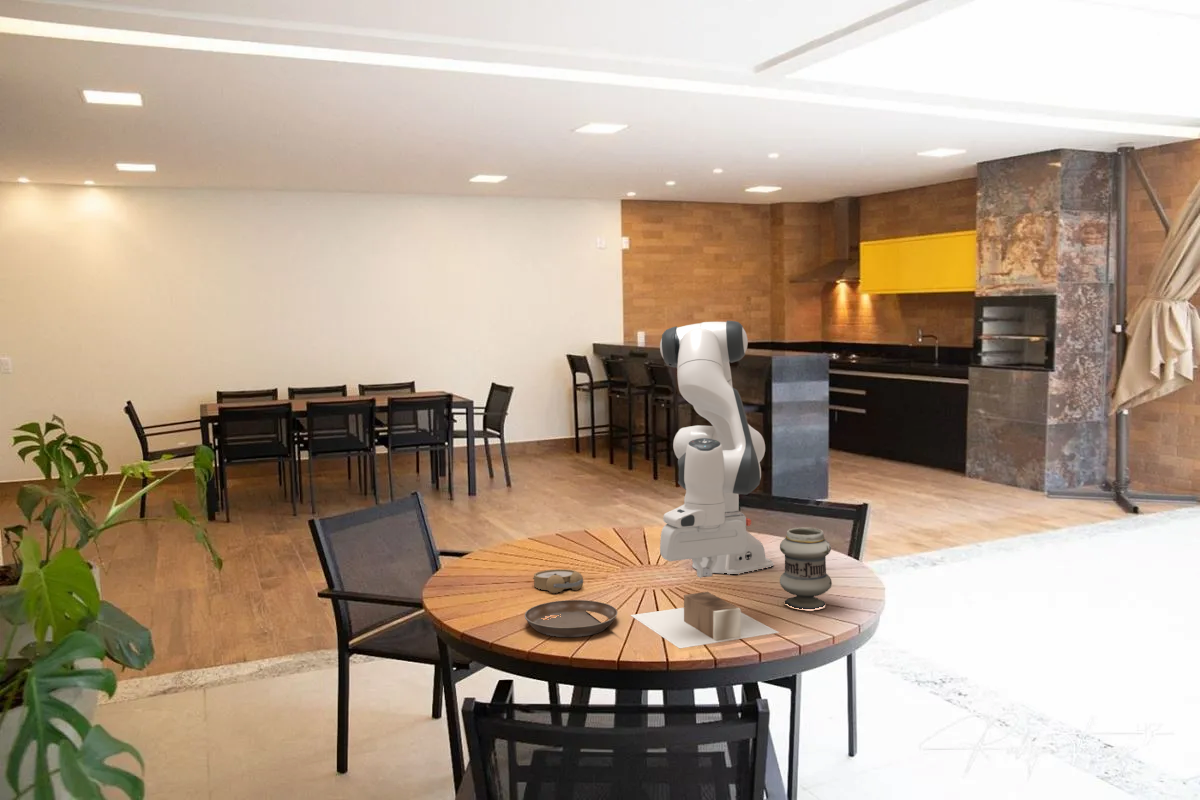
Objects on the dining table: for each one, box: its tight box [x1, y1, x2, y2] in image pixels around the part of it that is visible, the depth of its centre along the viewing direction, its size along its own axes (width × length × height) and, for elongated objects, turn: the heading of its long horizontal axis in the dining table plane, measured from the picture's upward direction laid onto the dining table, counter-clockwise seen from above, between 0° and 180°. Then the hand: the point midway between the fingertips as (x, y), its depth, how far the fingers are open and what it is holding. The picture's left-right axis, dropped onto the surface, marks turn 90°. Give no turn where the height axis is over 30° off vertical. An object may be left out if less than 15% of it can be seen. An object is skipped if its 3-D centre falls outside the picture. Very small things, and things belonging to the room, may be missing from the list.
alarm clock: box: [532, 568, 584, 594], centre depth 236 cm, size 11×5×15 cm
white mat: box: [629, 607, 780, 650], centre depth 204 cm, size 24×24×1 cm
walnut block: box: [683, 591, 742, 641], centre depth 200 cm, size 6×6×14 cm
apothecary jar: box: [779, 527, 833, 609], centre depth 219 cm, size 12×12×18 cm
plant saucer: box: [524, 599, 618, 638], centre depth 206 cm, size 21×21×3 cm
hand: (704, 576), depth 202 cm, fingers closed
